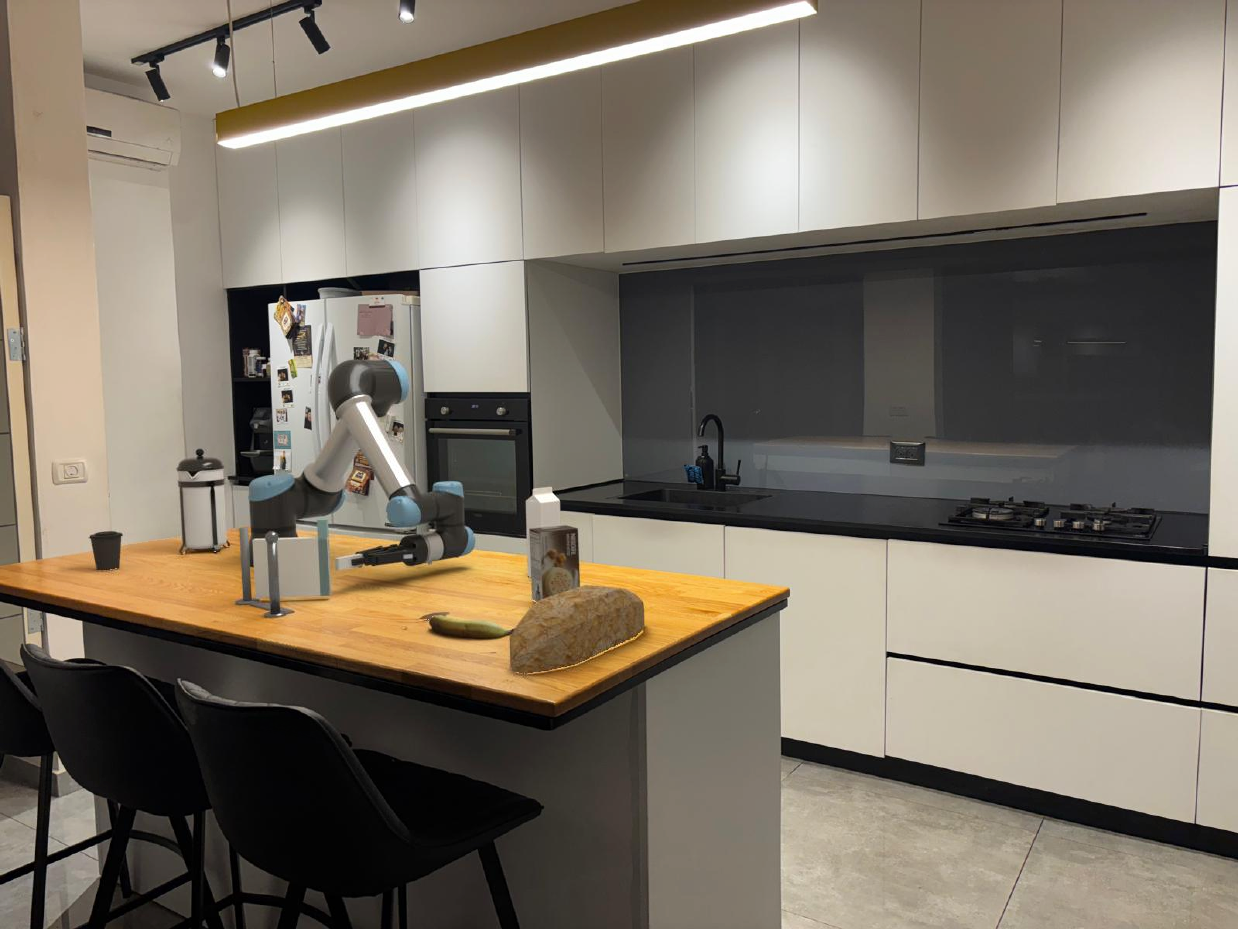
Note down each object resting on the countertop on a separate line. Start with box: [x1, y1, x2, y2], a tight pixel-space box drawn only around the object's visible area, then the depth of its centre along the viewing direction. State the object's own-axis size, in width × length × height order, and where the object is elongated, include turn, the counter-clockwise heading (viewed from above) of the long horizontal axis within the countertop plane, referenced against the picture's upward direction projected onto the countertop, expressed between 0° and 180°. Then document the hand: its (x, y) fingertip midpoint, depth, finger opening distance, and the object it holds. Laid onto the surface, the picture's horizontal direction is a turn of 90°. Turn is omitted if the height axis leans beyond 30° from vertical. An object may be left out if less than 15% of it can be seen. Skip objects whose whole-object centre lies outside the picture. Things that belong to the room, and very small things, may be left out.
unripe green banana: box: [402, 611, 516, 654], centre depth 180 cm, size 35×27×4 cm
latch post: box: [263, 531, 288, 618], centre depth 197 cm, size 4×4×18 cm
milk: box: [525, 486, 561, 578], centre depth 231 cm, size 6×6×22 cm
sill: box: [234, 597, 295, 615], centre depth 205 cm, size 20×5×1 cm, turn 50°
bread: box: [509, 584, 645, 675], centre depth 169 cm, size 36×11×10 cm, turn 147°
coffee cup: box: [88, 530, 124, 571], centre depth 251 cm, size 8×8×10 cm
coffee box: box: [529, 524, 581, 603], centre depth 205 cm, size 9×6×16 cm
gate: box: [238, 518, 332, 601], centre depth 210 cm, size 19×2×17 cm, turn 95°
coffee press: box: [175, 448, 231, 554], centre depth 278 cm, size 17×16×30 cm
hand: (336, 564), depth 215 cm, fingers closed
